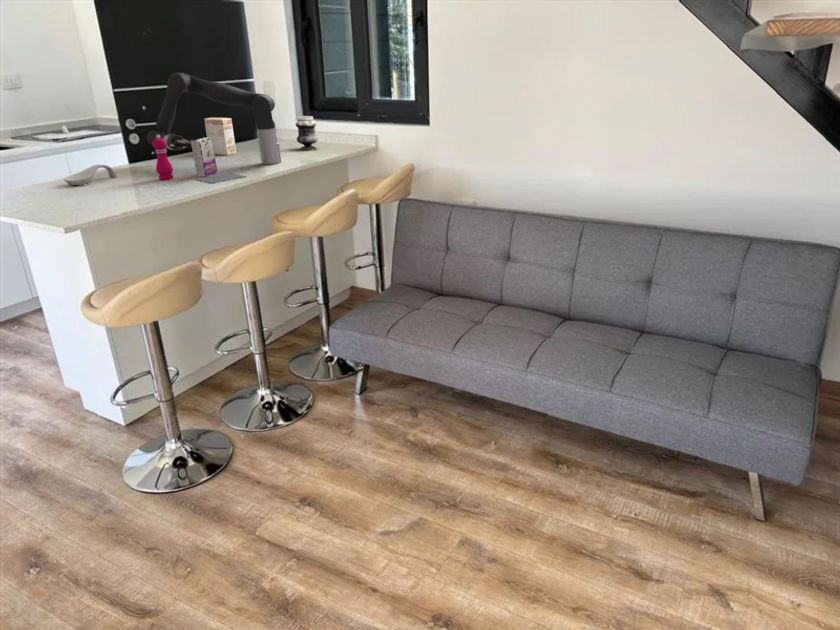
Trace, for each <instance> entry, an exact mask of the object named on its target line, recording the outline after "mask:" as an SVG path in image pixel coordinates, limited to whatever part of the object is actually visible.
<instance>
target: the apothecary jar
mask: <svg viewBox="0 0 840 630" xmlns="http://www.w3.org/2000/svg"><path fill="white" fill-rule="evenodd" d="M295 126H296V128H297V131H298V135H297V137H296V141H297V143H299V144H301V145H303V146H301V147H300V148H299V150H300V151H313V150H312V149H315V150H317V149H316V148H317V147H316V146H315V145H314V144H316V143H317V142H318V141H319V140H318V139H319V138H318V136H317V134H316V129H315V128H316V126H317V121H315V120H314V117H313V115H312V116H310V115H302V116H298V117H297V120H296V121H295Z"/></svg>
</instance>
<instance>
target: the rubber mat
mask: <svg viewBox="0 0 840 630" xmlns="http://www.w3.org/2000/svg"><path fill="white" fill-rule="evenodd" d="M242 177H243V178H247V175H244V174H243V175H241V174H237V173H232V172H228V173H222V174H218V175H217V174H216V175H210V176H207V177H199V178H195V179H194V180H195V181H198V180H199V182H202V181H204V182H203V183H207V182H208V184H211V183H212V184H216V183H215V182H217V183H221V182H220V181H222V182H226V181H225V180H227V181H231V180H230V179H233V180H237V178H238V179H242Z"/></svg>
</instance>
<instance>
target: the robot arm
mask: <svg viewBox="0 0 840 630" xmlns="http://www.w3.org/2000/svg"><path fill="white" fill-rule="evenodd" d="M166 85H167V86H166V89H165V90H166V91H165V95H164V100H163V103H162V107H161V110H160V112H159V115H158V117H157V119H156V120H157V121H156V122H155V123H156V124H155V125H156V128H158V129H159V130H160V131H162V132H159V131H157V130H151V131H149V132H148V134H147V135H146V140H147V143H148V144H149V145H151V146H153V144H152V143H153V140H154V139H157V138H156V135H160V138H162V139H164V140H165V141H166V143H167V146H166V148H165V149H169V150H171V151H177V152H181V151H182V150H183V149H186V148H189V149H192V146H191V141H195V140H194V139H190V140H187V139H185V138H184V137H183V136H182V135H180V134H173V133H171V130H172V129H171V128H172V126H173V123H174V120H175V118H176V112H177V109H176V108H177V105H178V101H179V98H180V97H181V95H182V94H183V93H190V94H191V93H192V94H195V95H196V94H197V95H201V96H203V97H205V98H206V99H209V100H211V101H213V102H216V103H219V104H222V105H228V106H238V107H239V106H240V107H248V108H251V109H252V114H253V119H254V123H255V125H256V132H257V140H258V147H259V154H260V162H261V163H260V164H262V165H276V164H279V163H282V158H281V150H280V149H281V148H280V142H278V136H277V130H276V123H275V121H274V119H273V114H272V112H273V111H274V109H275V105H276V103H275V101H274V99H273V98H272V97H271V96H270V95H269V94H265V93H258V92H251V91H248V90H244V89H242V88H238V87H235V86H232V85H228V84H225V83H222V82H218V81H212V80H207V79H200V78H198V77H196V76H194V75H193V76H192V75H190V74H187V73H185V72H174V73H171V74H170V76H169V77H168V80H167V84H166Z"/></svg>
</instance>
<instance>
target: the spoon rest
mask: <svg viewBox="0 0 840 630" xmlns="http://www.w3.org/2000/svg"><path fill="white" fill-rule="evenodd" d="M101 168H104V169H105V170H107V173H108V176H109V178H114V177H116V178H117V173H116V172H115V170H114V169H113V168H112V167H111V166H109V165H106V164H94V165H92V166H90V167H88V168H86V169H84V170H81V171H79V172H77V173H75V174H72V175H68V176H66V177H65V178H63V181H64V182H65V183H67V184H68V185H70V186H73V185H82V186H85V185H84V184H87V185H89V184H90V182H91V181H92V180H93V178H94V176H95V174H96V172H97V171H98V170H99V169H101ZM88 183H89V184H88Z"/></svg>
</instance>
